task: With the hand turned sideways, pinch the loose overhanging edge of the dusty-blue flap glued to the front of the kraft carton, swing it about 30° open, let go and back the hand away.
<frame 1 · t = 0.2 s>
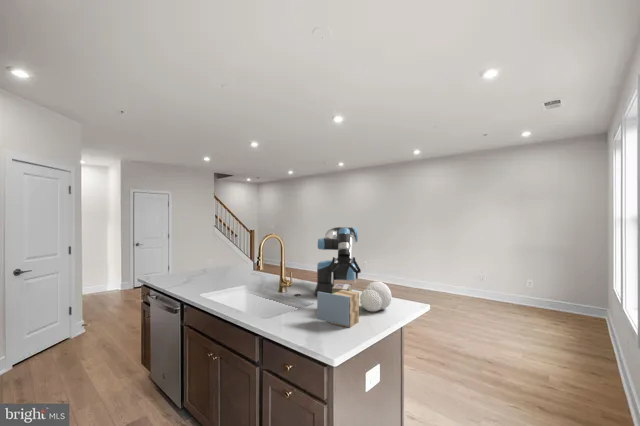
hand: (343, 283, 178), 15 cm above the worktop, fingers open, 13 cm apart
carton: (345, 322, 154), on the worktop
flap: (332, 308, 152), point 8 cm above the worktop, hinge at 0.0°
tea box: (341, 311, 172), on the worktop
cauliflower: (376, 310, 176), on the worktop
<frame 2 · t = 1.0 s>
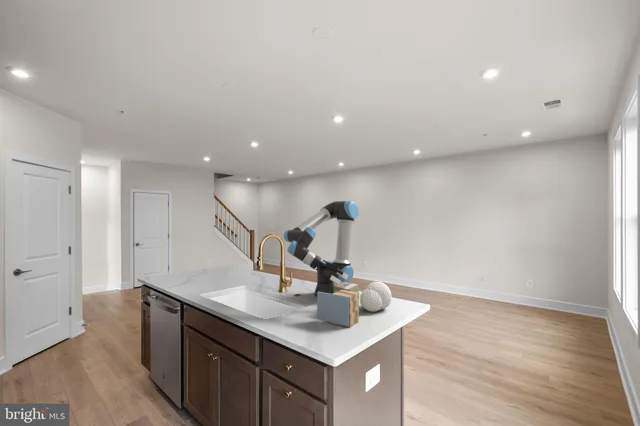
hand: (343, 280, 171), 18 cm above the worktop, fingers open, 13 cm apart
tea box: (344, 310, 172), on the worktop
everything else where it was.
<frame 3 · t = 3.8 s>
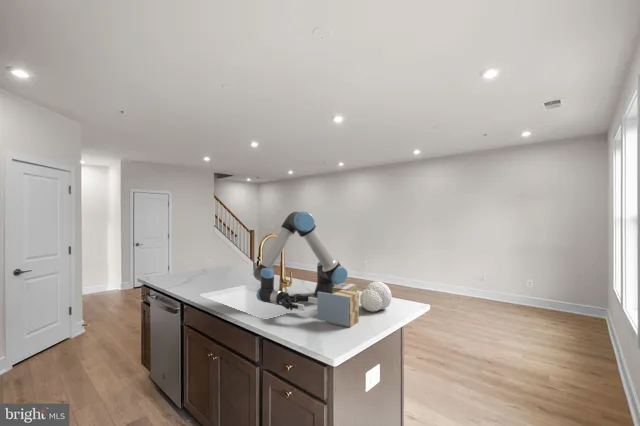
hand: (311, 304, 158), 8 cm above the worktop, fingers open, 13 cm apart
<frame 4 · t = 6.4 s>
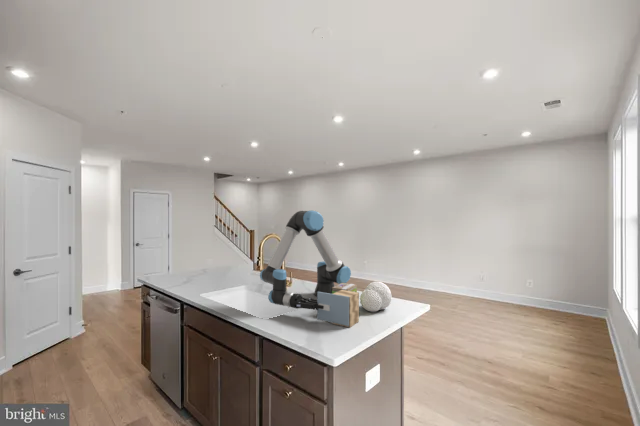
hand: (330, 307, 152), 8 cm above the worktop, fingers closed, pressing on flap
flap: (332, 308, 152), point 8 cm above the worktop, hinge at 0.0°, touching gripper
everything else where it was.
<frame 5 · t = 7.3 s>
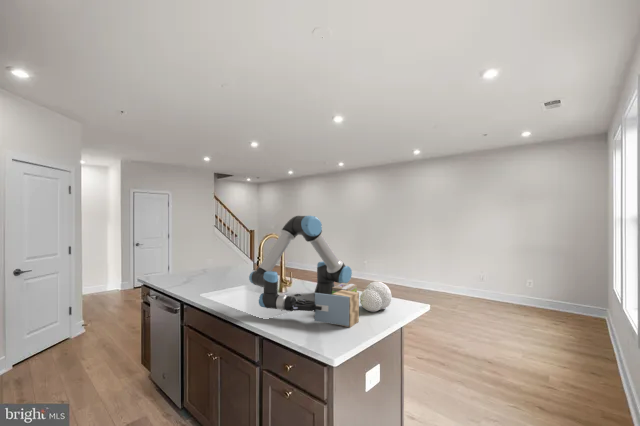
hand: (328, 308, 151), 8 cm above the worktop, fingers closed, pressing on flap
flap: (331, 309, 150), point 8 cm above the worktop, hinge at 9.7°, touching gripper
everything else where it was.
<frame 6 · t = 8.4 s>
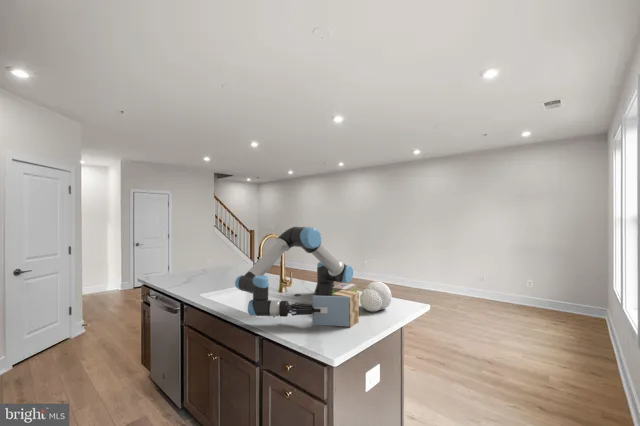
hand: (327, 309, 148), 8 cm above the worktop, fingers closed, pressing on flap
flap: (330, 310, 148), point 8 cm above the worktop, hinge at 26.5°, touching gripper
everything else where it was.
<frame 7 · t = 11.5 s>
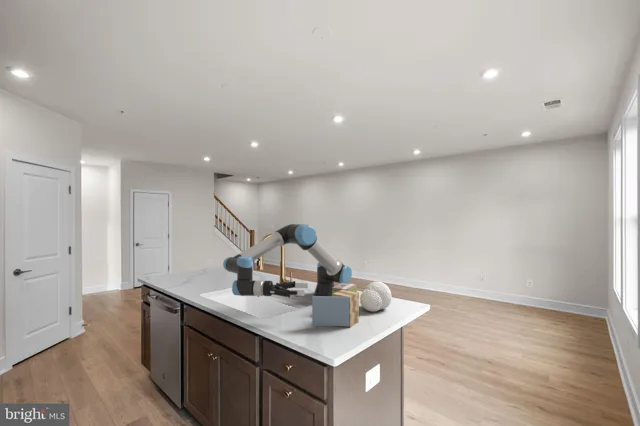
hand: (306, 288, 149), 18 cm above the worktop, fingers open, 13 cm apart
flap: (330, 311, 147), point 8 cm above the worktop, hinge at 30.7°
everything else where it was.
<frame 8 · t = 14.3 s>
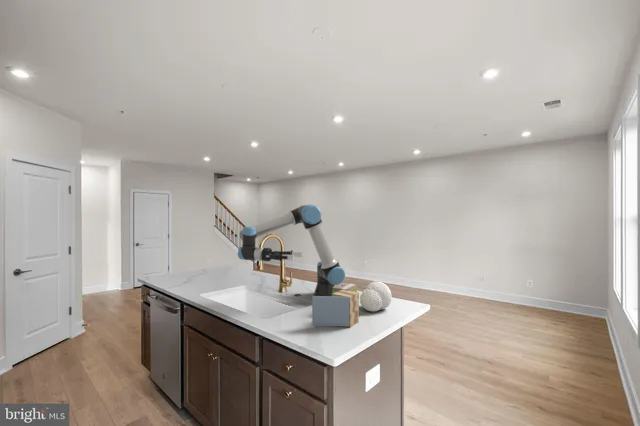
hand: (298, 256, 167), 32 cm above the worktop, fingers open, 13 cm apart
nothing on the worktop moved.
at the end: flap at +31° (first picture: +0°); the gripper is holding nothing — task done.
